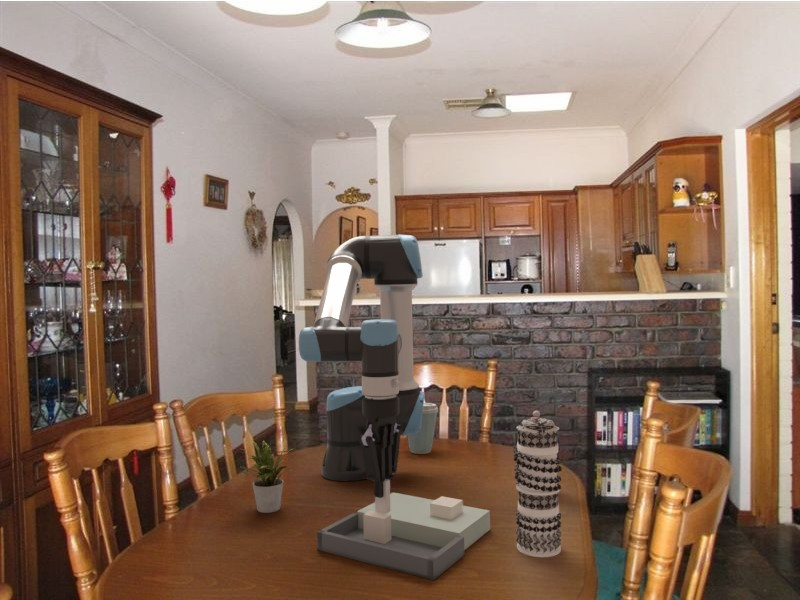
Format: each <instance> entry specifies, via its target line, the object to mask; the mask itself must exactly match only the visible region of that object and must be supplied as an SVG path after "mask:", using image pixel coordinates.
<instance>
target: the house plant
mask: <svg viewBox="0 0 800 600" xmlns="http://www.w3.org/2000/svg"><path fill="white" fill-rule="evenodd" d="M249 440H250V442H252V443H253V445H254V447H255V450H256V452H257V453H256V454H257V455H258V457H257V456H256V455H251V454H250V452H249V451H246V449H243V448H241V450H243V452H242V451H241V453H244V454H246V455H247V457H249V458H248V459H252V461H253V462H254V463H253V464H252V465H253V466H254V467H256V468H257V470H258V471H256V470H255V469H247V468H246V467H244V466H241V468H243V469H244V470H243V471H242V473H241V474H240V476H242V475H244V474H246V473H251V474H252V475H253V476H254V477H255V478H256V480H254V481H253V482H252V489H253V492H254V499H255V505H256V510H257V511H258V512H259V513H263V514H264V513H265V514H268V513H275V512H278V511H279V510H280V509H281V503H282V496H283V495H282V494H283V489H284V480H283V479H282V478H280V477H281V476H282V475H283V474H285V473H286V472H288V471H289V472H290V471H294V470H293V469H287V470H284V471H283V472H282V473H281V471H282V470H283V469H286V468H287V466H285V465H281V466H279V465H280V464H281V463H283V461H285V459H283V458H284V457H285V455H286V454H288V453H289V452H291V451H293V450H294V449H295V447H294V448H291V449H290V450H288V451H287V452H286V453H284V452H285V449H286V448H287V446H285V447H284V448H283V449H282V452H281V453H280V455H279V456H278V458H277V460H276V462H275V454H273V453H272V449H271V445H272V442H273V440H271V441H270V444H268V443H267V442H266V441H265V440H263V441H262V448H260V447H259V446H260V445H258V443H257V442H255V441H253V440H252V439H249ZM261 449H262V451H261ZM246 452H247V453H246ZM283 454H285V455H283ZM282 455H283V457H281V456H282ZM274 464H275V465H274ZM252 472H254V473H255V474H254V473H252ZM256 473H257V474H256ZM280 473H281V474H280ZM278 475H279V476H278ZM277 476H278V477H277Z"/></svg>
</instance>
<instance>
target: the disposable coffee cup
mask: <svg viewBox="0 0 800 600" xmlns="http://www.w3.org/2000/svg"><path fill="white" fill-rule="evenodd" d="M438 412H439V408H438V406H437V404H436V403H431V402H424V404H423V413H422V422H421V429H420V431H419V433H417V434H415V435H407V439H408V440H407V441H408V447H409V450H410V453H413V454H418V455H422V454H423V455H426V454H429V453H431V452H432V449H433V442H434V435H435V430H436V423H437V417H438Z"/></svg>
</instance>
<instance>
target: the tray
mask: <svg viewBox="0 0 800 600" xmlns="http://www.w3.org/2000/svg"><path fill="white" fill-rule="evenodd" d="M316 539H317V541H316V549H317V550H318V551H321V552H324V553H328V554H333V555H335V556H339V557H344V558H347V559H351V560H355V561H358V562H363V563H366V564H369V565H374V566H377V567H381V568H385V569H388V570H389V569H390V570H393V571H397V572H400V573H405V574H408V575H411V576H416V577H418V578H419V577H420V578H423V579H426V580H427V579H428V580H431V581H435V580H436V579H437V578H438V577H440V575H442V574H443V573H444V572H445V571H447V570H448V569H449V568H450V567H452V566H453V565H454V564H455V563H456V562H458V561H459V560H461V559H462V558H463V557H464V556H465V550H464V537H462V536H457V537H456V538H455V539H453V540H452V541H451V542H449V543H448V544H447V545H445V546H444V547H438V546H434V545H430V544H425V543H421V542H417V541H412V540H408V539H404V538H399V537H395V536H391V540H390V541H388V542H387V543H385V544H383V543H378V542H374V541H370V540H366V539H364V529H360V528H358V514H357V512H353V513H351V514H349V515H347V516H345V517H343V518H341V519H339V520H337V521H335V522H333V523H331V524H329V525H328V526H326V527H324V528H322V529H319V530H318V531H317V532H316Z"/></svg>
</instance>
